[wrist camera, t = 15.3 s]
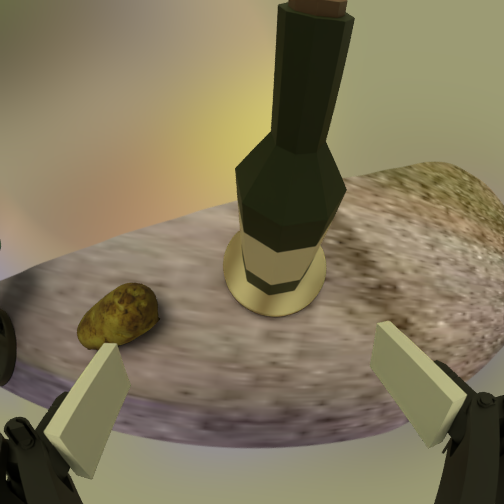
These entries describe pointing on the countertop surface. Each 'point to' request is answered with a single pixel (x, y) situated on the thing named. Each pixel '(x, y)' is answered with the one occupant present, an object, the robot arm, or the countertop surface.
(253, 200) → the wine bottle
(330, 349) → the countertop surface
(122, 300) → the potato
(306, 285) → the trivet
